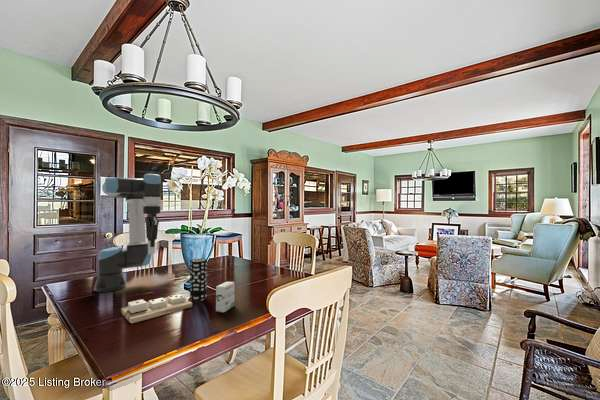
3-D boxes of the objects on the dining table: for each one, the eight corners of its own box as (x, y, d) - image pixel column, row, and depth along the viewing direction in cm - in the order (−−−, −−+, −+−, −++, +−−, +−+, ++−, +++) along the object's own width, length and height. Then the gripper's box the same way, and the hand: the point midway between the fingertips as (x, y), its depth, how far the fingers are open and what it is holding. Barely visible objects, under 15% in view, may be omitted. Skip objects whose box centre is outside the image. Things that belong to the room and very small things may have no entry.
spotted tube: (187, 298, 144) (187, 260, 144) (202, 294, 150) (202, 257, 150) (194, 302, 138) (194, 262, 139) (209, 298, 145) (210, 260, 145)
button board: (121, 312, 126) (121, 308, 126) (179, 298, 144) (179, 294, 144) (130, 323, 114) (130, 318, 114) (192, 306, 133) (192, 302, 133)
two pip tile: (148, 307, 129) (148, 300, 129) (162, 303, 133) (162, 297, 134) (152, 310, 125) (152, 303, 125) (166, 307, 129) (166, 300, 129)
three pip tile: (167, 302, 135) (167, 296, 135) (180, 299, 140) (180, 293, 140) (172, 306, 131) (172, 299, 131) (184, 303, 135) (184, 296, 135)
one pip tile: (127, 309, 123) (127, 302, 123) (142, 305, 127) (142, 298, 127) (131, 313, 119) (131, 305, 119) (146, 309, 123) (146, 302, 123)
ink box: (226, 304, 136) (226, 280, 136) (235, 306, 134) (235, 281, 134) (215, 311, 128) (215, 285, 128) (224, 312, 126) (224, 287, 126)
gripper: (139, 205, 138) (139, 252, 138) (147, 206, 129) (147, 256, 129) (155, 205, 143) (155, 250, 143) (164, 206, 134) (164, 254, 134)
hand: (151, 253), depth 136 cm, fingers closed
